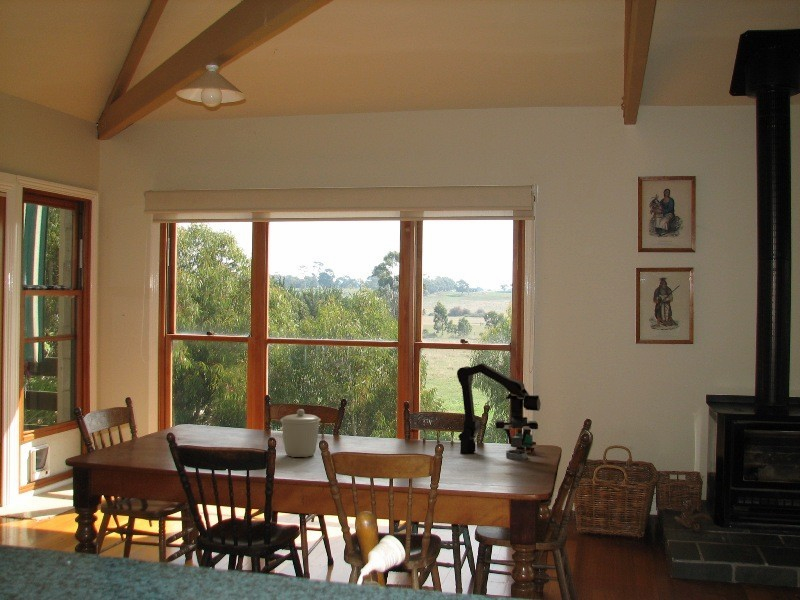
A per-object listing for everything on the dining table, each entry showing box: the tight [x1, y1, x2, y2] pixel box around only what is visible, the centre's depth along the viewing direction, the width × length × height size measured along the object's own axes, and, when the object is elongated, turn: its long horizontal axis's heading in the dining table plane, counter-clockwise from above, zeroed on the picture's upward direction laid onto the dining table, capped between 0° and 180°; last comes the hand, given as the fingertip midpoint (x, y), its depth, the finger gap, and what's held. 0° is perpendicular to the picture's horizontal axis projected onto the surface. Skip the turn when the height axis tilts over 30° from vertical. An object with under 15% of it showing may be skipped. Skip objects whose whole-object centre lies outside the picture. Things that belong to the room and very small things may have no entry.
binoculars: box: [515, 428, 537, 454], centre depth 351 cm, size 9×11×10 cm
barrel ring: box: [505, 449, 528, 461], centre depth 337 cm, size 9×9×2 cm
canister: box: [279, 408, 322, 458], centre depth 339 cm, size 18×18×21 cm
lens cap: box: [510, 435, 523, 448], centre depth 337 cm, size 5×5×4 cm
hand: (516, 443), depth 337 cm, fingers closed on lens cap, 5 cm apart
